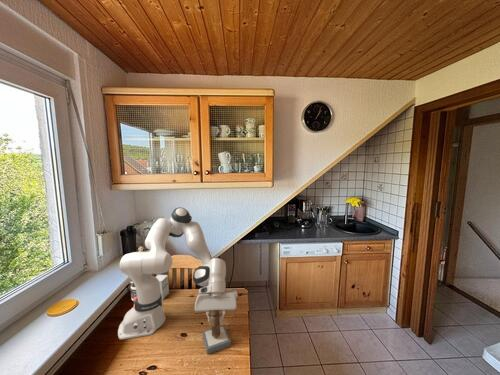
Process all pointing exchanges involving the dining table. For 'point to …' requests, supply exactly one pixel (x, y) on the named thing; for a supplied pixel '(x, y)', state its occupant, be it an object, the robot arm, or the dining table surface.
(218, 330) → the pepper mill
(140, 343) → the dining table surface
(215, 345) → the base
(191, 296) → the dining table surface
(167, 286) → the supplement box
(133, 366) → the dining table surface
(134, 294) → the decorative candle
